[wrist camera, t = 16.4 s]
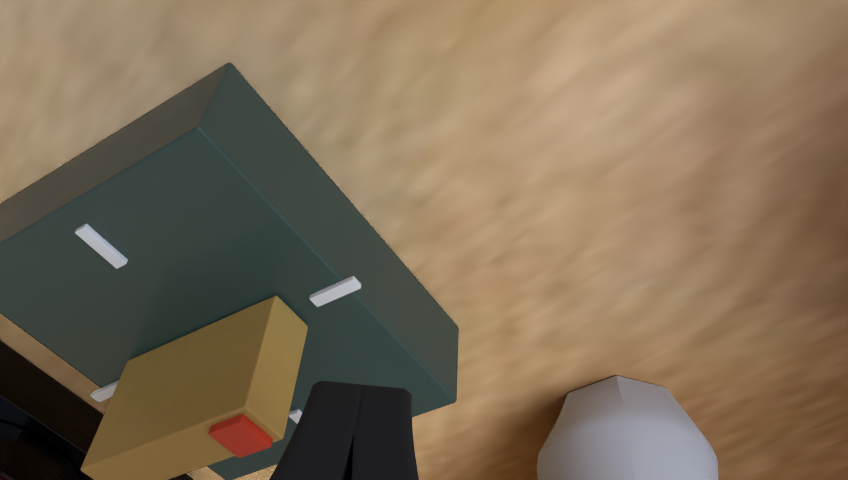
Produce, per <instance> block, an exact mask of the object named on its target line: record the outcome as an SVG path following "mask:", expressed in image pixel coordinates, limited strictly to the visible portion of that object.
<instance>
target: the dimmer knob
mask: <svg viewBox="0 0 848 480" xmlns="http://www.w3.org/2000/svg"><path fill="white" fill-rule="evenodd" d="M307 330H308V326H307V325H306V324H305V323H304V322H303V321H302V320H301V319H300V318H299V317H298V316H297V315H296V314H295V313H294V312H293V311H292V310H291V309H290V308H289V307H288V306H287V305H286V304H285V303H284V302H283V301H282V300H281V299H280V298H279V297H278V296H273V297H270V298H268V299H266V300H264V301H261V302H259V303H257V304H255V305H252V306H250V307H248V308H246V309H243V310H241V311H239V312H237V313H234V314H232V315H230V316H228V317H225V318H223V319H221V320H219V321H216V322H214V323H212V324H210V325H207V326H205V327H203V328H201V329H198V330H196V331H194V332H192V333H189V334H187V335H185V336H183V337H180V338H178V339H176V340H174V341H171V342H169V343H167V344H165V345H162V346H160V347H158V348H156V349H153V350H151V351H149V352H147V353H144V354H142V355H140V356H138V357H135V358H133V359H131V360H129V361H128V362H127V363H126V366H125V368H124V370H123V372H122V375H121V377H120V379H119V382H118V384H117V386H116V388H115V391H114V393H113V395H112V398H111V400H110V402H109V405H108V407H107V409H106V411H105V414H104V416H103V418H102V421H101V423H100V425H99V427H98V430H97V432H96V434H95V437H94V439H93V441H92V443H91V446H90V448H89V450H88V453H87V455H86V457H85V460H84V462H83V464H82V466H81V471H82V472H83V473H85V474H86V475H88V476H89V477H91V478H92V479H94V480H168V479H171V478H174V477H177V476H179V475H182V474H185V473H188V472H191V471H194V470H196V469H199V468H202V467H205V466H208V465H211V464H213V463H216V462H219V461H222V460H225V459H228V458H230V457H233V456H237V457H238V458H241V457H244V456H247V455H250V454H253V453H256V452H259V451H261V450H264V449H267V448H270V447H271V446H272V443H273V442H276V441H278V440H281V439H283V437H284V434H285V429H286V425H287V420H288V416H289V411H290V407H291V402H292V398H293V393H294V389H295V384H296V380H297V375H298V371H299V366H300V362H301V357H302V353H303V348H304V344H305V339H306V335H307Z"/></svg>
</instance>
